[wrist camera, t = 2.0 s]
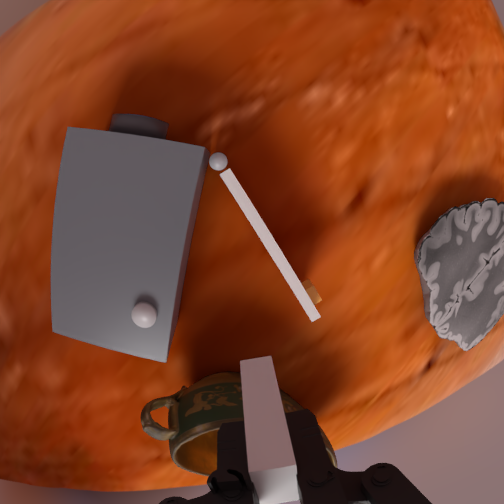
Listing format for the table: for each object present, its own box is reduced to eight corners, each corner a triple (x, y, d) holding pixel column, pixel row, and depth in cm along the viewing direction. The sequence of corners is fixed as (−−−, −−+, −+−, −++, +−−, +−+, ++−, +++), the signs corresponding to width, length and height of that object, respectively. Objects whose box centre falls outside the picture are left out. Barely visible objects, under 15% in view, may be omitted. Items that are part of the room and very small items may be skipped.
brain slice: (518, 267, 32) (531, 273, 29) (446, 355, 34) (458, 366, 32) (470, 155, 28) (487, 156, 25) (378, 260, 30) (392, 269, 27)
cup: (255, 310, 30) (269, 374, 20) (328, 425, 35) (351, 483, 25) (148, 363, 30) (126, 430, 21) (241, 460, 36) (246, 519, 26)
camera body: (83, 299, 28) (49, 335, 20) (107, 118, 24) (69, 104, 16) (177, 321, 29) (164, 367, 22) (214, 135, 25) (210, 122, 18)
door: (294, 295, 29) (309, 323, 24) (210, 161, 25) (205, 158, 20) (310, 285, 29) (329, 311, 24) (228, 149, 25) (228, 144, 20)
